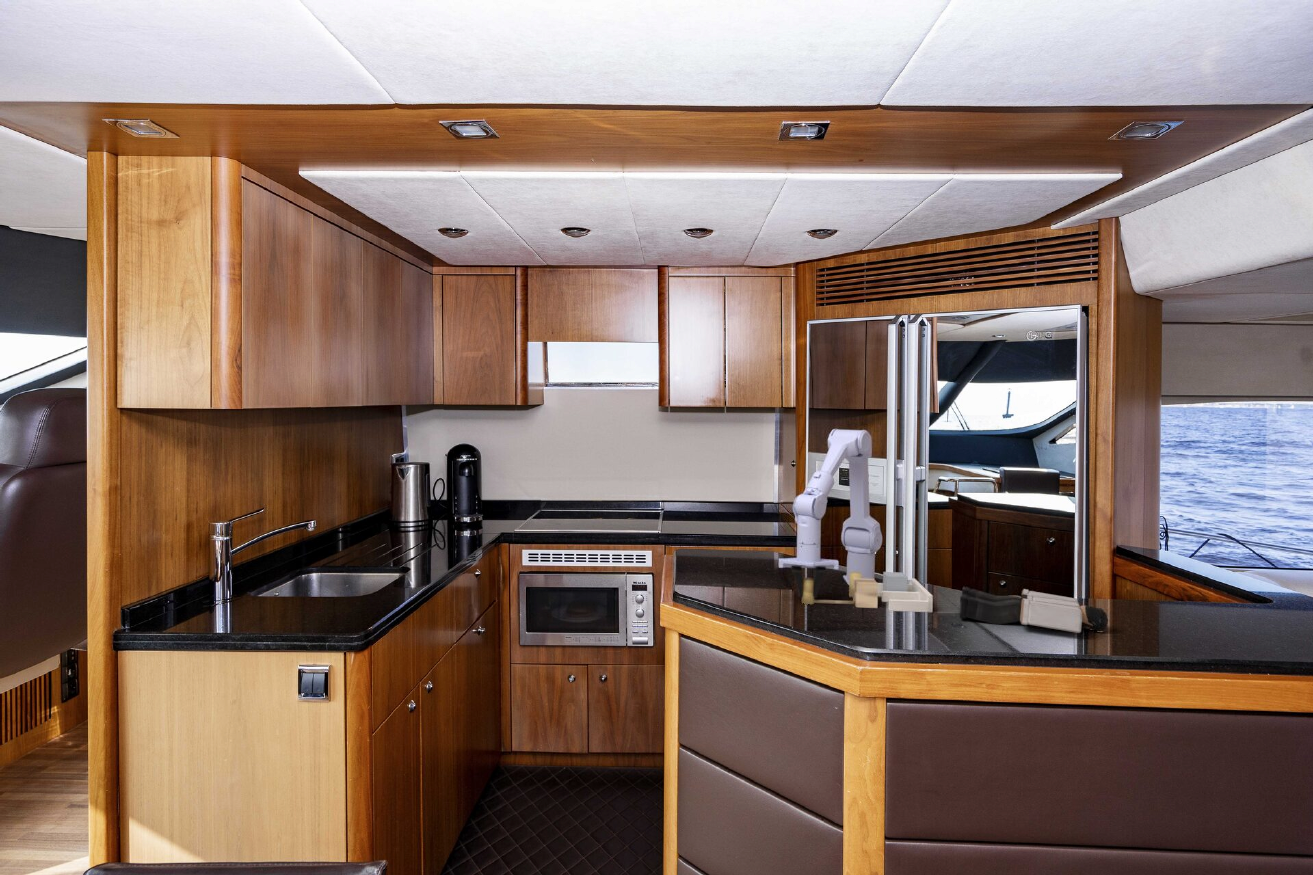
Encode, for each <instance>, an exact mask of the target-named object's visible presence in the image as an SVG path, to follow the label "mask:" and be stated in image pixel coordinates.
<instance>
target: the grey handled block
mask: <svg viewBox="0 0 1313 875" xmlns="http://www.w3.org/2000/svg"><path fill="white" fill-rule="evenodd" d="M882 577H883V579H882V583H883V591H903V592H907V584H908V580H909V579H908V576H907V575H906V574H905V573H904V572H900V571H899V572H898V571H897V572H896V571H891V572H890V571H883V574H882ZM854 578H861V579H862V573H860V572H850V578H849V585H848V586H849V587H848V595H849V596H848V597H849V598H853V586H854ZM878 598H882V593H878Z"/></svg>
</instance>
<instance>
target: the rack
mask: <svg viewBox="0 0 1313 875" xmlns="http://www.w3.org/2000/svg"><path fill="white" fill-rule="evenodd" d="M877 583H878V594H882V597H881V602H882V603H886V602H887V603H888V611H890V612H913V613H915V612H917V613H933V605H934V604H933V602H934V601H933V599H934V598H933V597H934V596H933V594H931V592H929V590H928V589H926V588H925V587H924V586H923V585H922V584H921V583H920V581H918V580H917V579H916V578H912V577H911V578H910V583H907V592H903V591H883V582H877Z"/></svg>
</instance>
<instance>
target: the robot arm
mask: <svg viewBox="0 0 1313 875" xmlns="http://www.w3.org/2000/svg"><path fill="white" fill-rule="evenodd" d="M872 444H873V442H872V435H871V434H870V433H869V431H868V430H866V429H862V430H860V429H839V428H834V429H832V430H831V432H830V433H829V434H828V438H827V449H828V451H827V453H826V455H825V458H824V460H823V462H822V465H821V468H820V470H817V471H815V472H814V473H812V476H811V478H810V479H809V481H808V484H807V485H806V487H805V489H804V491H803V492H802V493H800V494H799V495H796V497H794V498H795V499H794V500H793V505H792V511H793V514H794V517H795V518H794V522H795V524H797V527H796V533H797V534H796V557H788V558H787V557H786V558H784V557H783V558H778V568H780V569H783V568H790V569H791V572H792V574H793V576H794V579H795V583H796V586H797V591H798V598H802V578H803V568H805V569H813V579H814V599H817V598H818V594H819V591H820V590H819V589H820V587H821V584H822V582H823V580H824V578H825V576H826V574H827V569H829V570H830V569H833V570H839V564H840V563H839V562H840V561H839V560H838V559H826V558H821V536H822V535H821V532H822V530H821V526H822V525H821V524H822V523H821V522H822V518H823V517H824V515H825V514H826V511H827V510H826V509H827V505H828V504H827V503H828V497H829V495H830V493H831V491H832V490H833V486H834V485H835V479H834V476H835V474H836V473H837V471H838V469H839V468H840V466H841V465H842V463H843V462H844V460H845V459H846V461H848V470H849V471H848V472H849V473H848V474H849V475H848V476H849V477H848V478H849V505H850V510H849V511H850V517H848V518H847V519H845V521H843V523H842V531H841V536H840V537H841V538H840V540H841V543H842V546H843V547H845V550H846V551H847V555H846V556H847V557H846V575H843V576H842V577H843V579H844V581H845V582H846V583H847V585H848V586H849V578H850V572H860V573H862V579H875V568H876V567H875V565H876V562H875V561H876V559H875V558H876V552H878V550H880V549H881V546H882V544H883V535H882V531H881V525H880V523H879V522H878V521H877V520H876V519H875V518H873V517H872V516H871V515H870V487H869V486H870V484H869V483H870V482H869V459H870V458H872V456H873V455H872V452H873V449H872V448H873V445H872Z"/></svg>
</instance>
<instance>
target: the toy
mask: <svg viewBox="0 0 1313 875" xmlns="http://www.w3.org/2000/svg"><path fill="white" fill-rule="evenodd" d="M958 617H959V618H960V619H966V618H969V619H972V620H976V621H980V622H985V623H988V624H992V625H1006V624H1012V623H1017V622H1020V624H1021V625H1024V626H1028V625H1030V626H1036V627H1042V628H1047V629H1054V630H1058V631H1059V630H1060V631H1065V632H1072V633H1077V634H1080V633H1081V632H1082V628H1083V629H1089V630H1090V629H1092V630H1096V631H1104V630H1105V631H1106V630H1107V628H1108V623H1109V619H1108V614H1107V612H1105V610H1104V609H1103V608H1101V607H1094V606H1091V605H1080V604H1079V602H1078V599H1077V598H1073V597H1068V596H1063V595H1057V594H1050V593H1044V592H1039V591H1038V592H1037V591H1034V590H1029V589H1026V588H1023V589H1022V591H1021V596H1020V595H996V594H992V593H988V592H986V591H981V590H978V589H975V588H970V587H968V586H963V587H962V590H961V595H960V597H959V615H958ZM1096 631H1095V632H1096Z"/></svg>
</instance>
